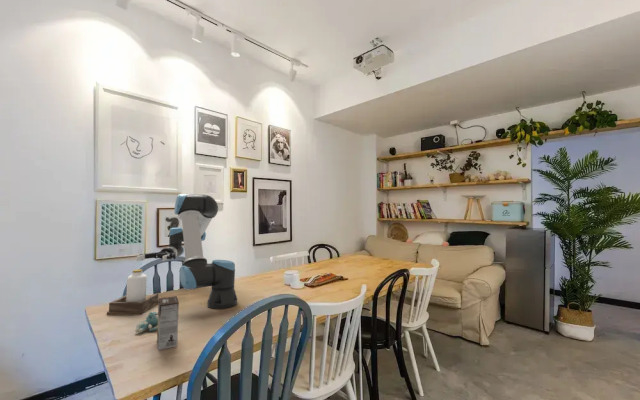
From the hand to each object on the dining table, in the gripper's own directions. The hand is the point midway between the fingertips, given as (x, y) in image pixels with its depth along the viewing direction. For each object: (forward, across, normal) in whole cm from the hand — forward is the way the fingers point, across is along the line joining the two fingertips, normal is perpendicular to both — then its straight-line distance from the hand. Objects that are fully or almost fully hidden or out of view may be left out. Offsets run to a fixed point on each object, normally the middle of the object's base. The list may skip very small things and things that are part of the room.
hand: (150, 258), depth 156 cm
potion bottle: (+12, 0, -22) cm, 25 cm away
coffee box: (+51, -33, -24) cm, 65 cm away
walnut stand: (+12, +1, -23) cm, 26 cm away
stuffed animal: (+37, -19, -24) cm, 48 cm away
